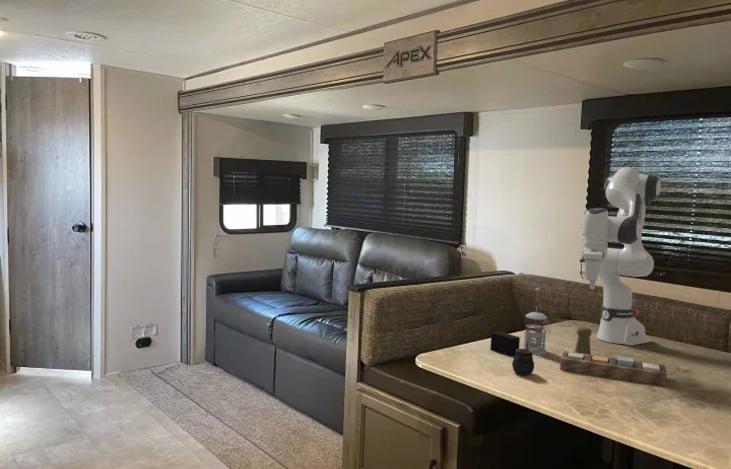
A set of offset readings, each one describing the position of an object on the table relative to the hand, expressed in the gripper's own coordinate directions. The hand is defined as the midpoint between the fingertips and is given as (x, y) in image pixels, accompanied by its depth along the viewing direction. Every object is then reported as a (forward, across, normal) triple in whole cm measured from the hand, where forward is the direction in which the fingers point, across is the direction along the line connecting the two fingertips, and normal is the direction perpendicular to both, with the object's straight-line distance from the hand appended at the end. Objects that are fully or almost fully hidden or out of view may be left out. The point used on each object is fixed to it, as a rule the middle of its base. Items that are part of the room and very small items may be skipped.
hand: (592, 288), depth 216 cm
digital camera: (+26, +10, -29) cm, 41 cm away
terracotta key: (+24, +17, +5) cm, 29 cm away
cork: (+27, -1, -2) cm, 27 cm away
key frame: (+26, +17, +8) cm, 32 cm away
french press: (+26, +2, -19) cm, 33 cm away
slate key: (+23, +17, +13) cm, 31 cm away
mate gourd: (+25, +33, -19) cm, 46 cm away
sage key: (+24, +17, -3) cm, 29 cm away
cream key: (+24, +17, +21) cm, 36 cm away
